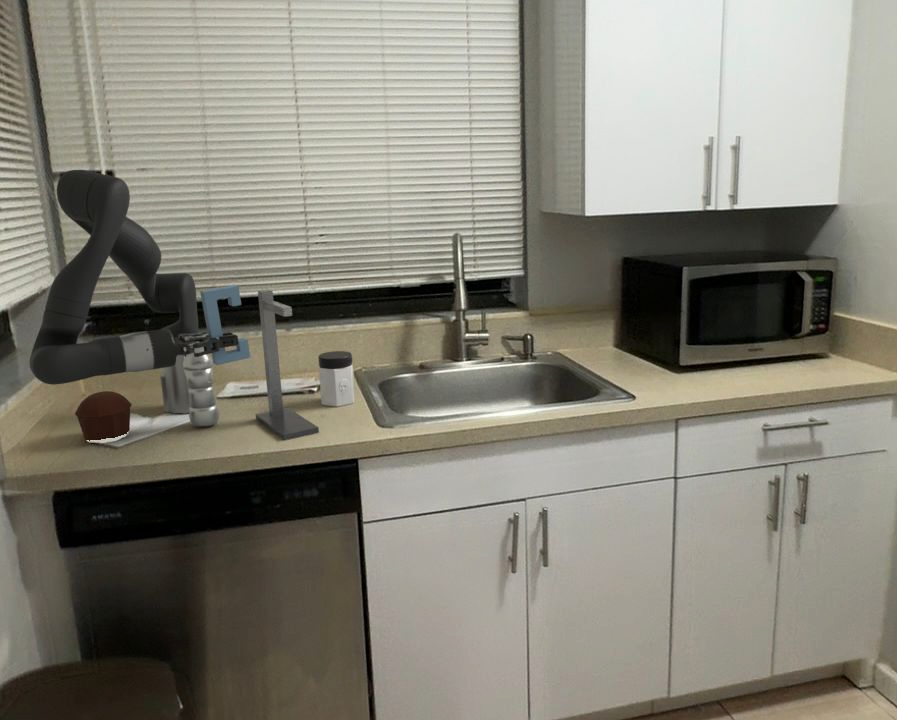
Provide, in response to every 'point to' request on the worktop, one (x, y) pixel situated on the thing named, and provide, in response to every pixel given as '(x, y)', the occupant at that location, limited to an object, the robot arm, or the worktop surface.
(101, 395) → the muffin
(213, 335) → the c link
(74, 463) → the worktop surface
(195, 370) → the plastic bottle
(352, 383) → the jar
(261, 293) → the stand
